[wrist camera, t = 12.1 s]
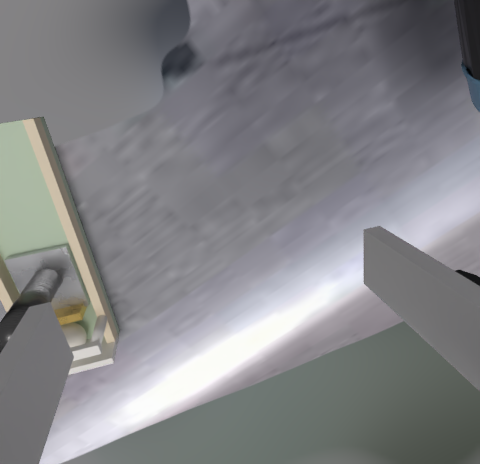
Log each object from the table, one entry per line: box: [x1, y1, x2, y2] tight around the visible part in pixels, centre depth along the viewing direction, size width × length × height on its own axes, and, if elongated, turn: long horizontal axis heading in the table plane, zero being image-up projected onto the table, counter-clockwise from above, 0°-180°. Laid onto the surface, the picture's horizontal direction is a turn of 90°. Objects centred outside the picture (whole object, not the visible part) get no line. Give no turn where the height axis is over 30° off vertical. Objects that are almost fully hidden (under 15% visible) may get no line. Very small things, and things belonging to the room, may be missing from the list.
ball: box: [60, 322, 87, 347], centre depth 42 cm, size 4×4×4 cm
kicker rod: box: [0, 244, 90, 353], centre depth 35 cm, size 8×7×12 cm
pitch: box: [0, 117, 120, 375], centre depth 37 cm, size 28×10×9 cm, turn 8°
